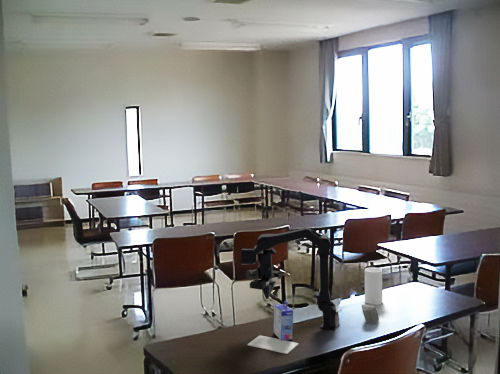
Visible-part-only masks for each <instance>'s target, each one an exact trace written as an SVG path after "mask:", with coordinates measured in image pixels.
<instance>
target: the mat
mask: <svg viewBox="0 0 500 374" xmlns="http://www.w3.org/2000/svg"><path fill="white" fill-rule="evenodd" d="M246 346H249V347H254V348H258V349H259V348H260V349H262V350H269V351H271V352H277V353H280V354H286V355H288V354H289V353H290V352H291V351H293V350H294V349H295V348H297V346H299V343H298V342H294V341H290V340H280V339H279V338H274V337H271V336H270V337H269V336H266V335H265V336H264V335H261V334H259V335H257V337H256V338H254V339H252V340H251V341H250V342H249V343H247V345H246Z"/></svg>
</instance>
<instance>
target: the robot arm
mask: <svg viewBox="0 0 500 374" xmlns="http://www.w3.org/2000/svg"><path fill="white" fill-rule="evenodd" d="M302 239H306V240H308V242H311V244H313V245H315V246H316V247H317V253H318V257H319V291H315V297H316V298H315V305H316V306H317V308H318V310H319V311H321V312H322V324H320V326H319V328H321V329H325V330H330V331H331V330H332V331H335V330H336V329H337V328H338V327H339V326H340V324H339V323H337V307H336V303H334V302H333V301H332V300H331V295H330V294H331V293H330V289H329V256H330V252H331V248H332V247H331V245H332V244H331V240H330V237H329V236H328V235H325V234H321V233H319V232H317V231H315V230H313V229H311V228H310V227H308V226H306V227H303V228H302V227H301V228H299V229H294V230H289V231H285V232H281V233H262V234H261V235H259V237H258V238H257V240H256V241H257V242H256V245H254V247H253V248H241V251H240V252H241V255H240V264H241V265H242V266H243V265H256V263H258V266H256V269H255V268H254V269H249V270H247V271H246V273H245V274H246V275H245V276H246V278H247V279H249V280H252V281H250V283H249V288H250V289H253V290H254V289H255V290H261V291H262V293H263V296H264V298H265V299H266V300H269V299H270V296H271V294H272V292H273V289H274V287H275V284H276V283H277V281H276V280H274V278H277V280H280V279H282V278H283V273H282V272H281V271H280V270H273V269H274V268H275V265H273V259H272V258H273V255H276V253H277V251H276V250H275V248H274V247H276V246H278V245H279V244H284V243H288V242H293V241H298V240H302Z"/></svg>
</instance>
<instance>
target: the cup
mask: <svg viewBox="0 0 500 374" xmlns="http://www.w3.org/2000/svg"><path fill="white" fill-rule="evenodd" d="M364 302H365V303H366V304H367V305H371V306H374V305H380V304H382V303H383V268H380V267H375V266H373V267H372V266H370V267H366V268H364Z"/></svg>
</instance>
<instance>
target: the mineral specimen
mask: <svg viewBox="0 0 500 374" xmlns="http://www.w3.org/2000/svg"><path fill="white" fill-rule="evenodd" d="M361 310H362V314H363V317H364V321H365V323H366V324H367V325H369V324H371V325H376V323H378V322H379V321H380V318H379V316H380V315H379V312H378V309H377V307H376V306H374V305H372V304H361Z"/></svg>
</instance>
